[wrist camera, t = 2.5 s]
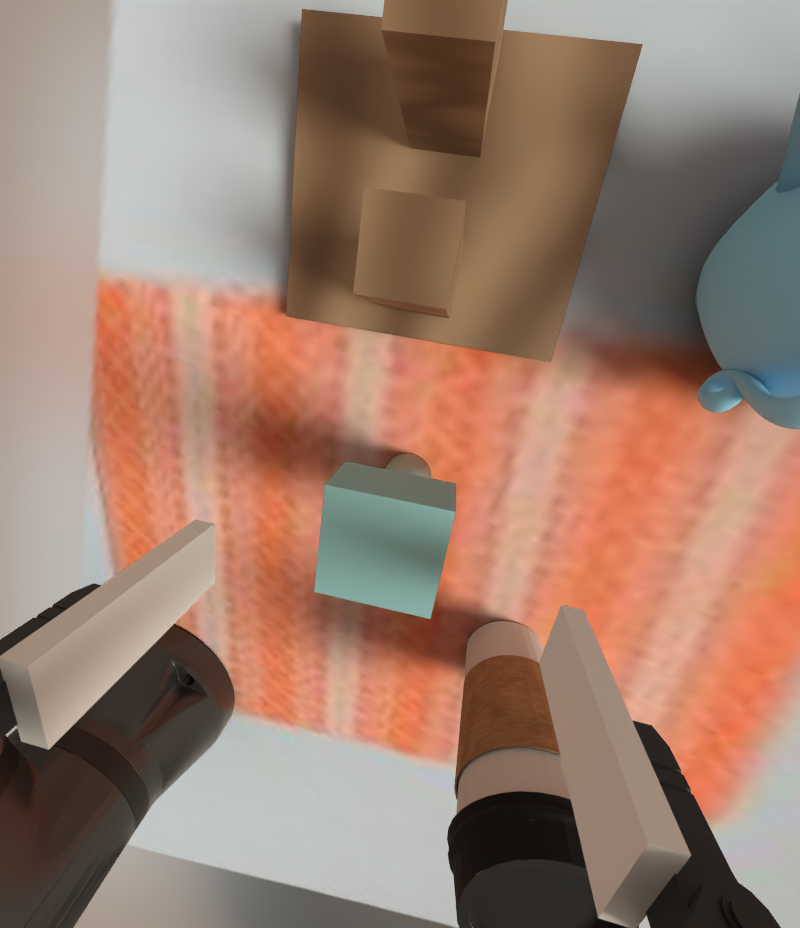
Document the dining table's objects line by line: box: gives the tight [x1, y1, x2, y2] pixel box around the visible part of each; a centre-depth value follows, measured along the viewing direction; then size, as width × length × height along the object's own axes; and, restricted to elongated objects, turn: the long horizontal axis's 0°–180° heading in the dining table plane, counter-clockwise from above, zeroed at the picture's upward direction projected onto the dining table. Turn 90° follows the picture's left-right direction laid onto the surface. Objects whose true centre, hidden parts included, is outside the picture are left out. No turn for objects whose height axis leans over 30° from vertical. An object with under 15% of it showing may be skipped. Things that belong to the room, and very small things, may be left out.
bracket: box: [286, 0, 643, 362], centre depth 17 cm, size 16×14×9 cm
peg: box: [314, 453, 456, 619], centre depth 21 cm, size 6×6×10 cm
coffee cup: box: [447, 621, 639, 928], centre depth 23 cm, size 8×8×15 cm
